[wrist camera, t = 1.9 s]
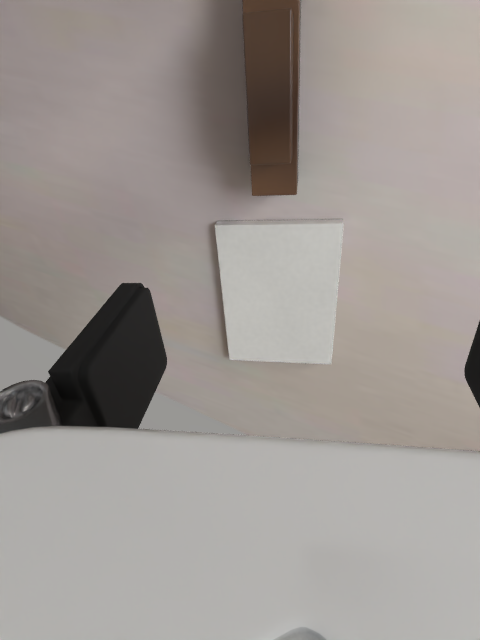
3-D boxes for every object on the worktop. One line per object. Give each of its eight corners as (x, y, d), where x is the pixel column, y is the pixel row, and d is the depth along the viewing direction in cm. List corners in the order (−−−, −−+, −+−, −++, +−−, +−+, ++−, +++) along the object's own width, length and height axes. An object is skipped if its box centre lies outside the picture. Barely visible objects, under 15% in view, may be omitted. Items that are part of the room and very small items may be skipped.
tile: (217, 220, 31) (214, 225, 30) (342, 218, 29) (343, 223, 28) (230, 353, 39) (229, 360, 38) (330, 357, 37) (331, 364, 36)
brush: (249, -31, 22) (231, -58, 17) (301, -38, 22) (299, -68, 16) (257, 181, 29) (247, 207, 24) (297, 180, 28) (295, 206, 23)
